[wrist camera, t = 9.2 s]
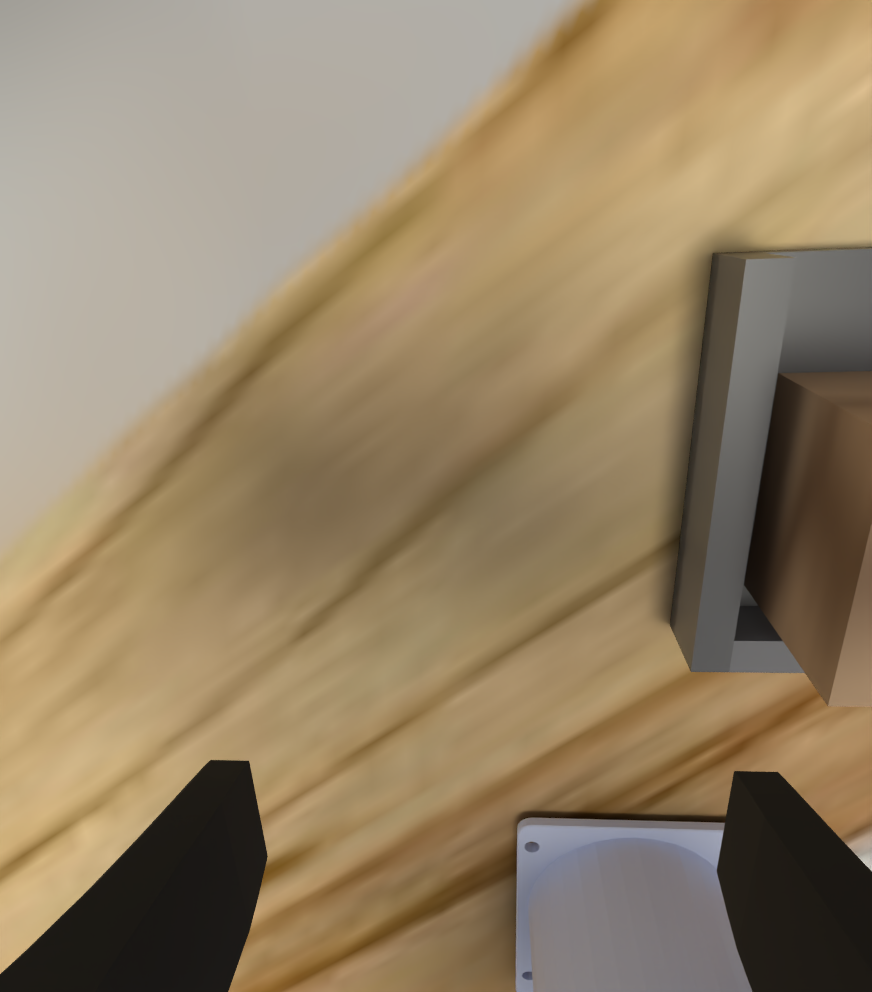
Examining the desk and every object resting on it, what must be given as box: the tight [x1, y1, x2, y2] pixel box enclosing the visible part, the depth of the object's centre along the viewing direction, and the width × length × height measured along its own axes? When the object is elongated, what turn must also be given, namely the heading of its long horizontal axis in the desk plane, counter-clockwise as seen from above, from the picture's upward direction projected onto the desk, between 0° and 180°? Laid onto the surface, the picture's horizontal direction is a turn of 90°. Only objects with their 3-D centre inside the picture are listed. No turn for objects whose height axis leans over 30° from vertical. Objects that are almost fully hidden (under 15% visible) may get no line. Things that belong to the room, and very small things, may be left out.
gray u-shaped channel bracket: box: [670, 247, 872, 673], centre depth 17 cm, size 10×7×2 cm, turn 2°
